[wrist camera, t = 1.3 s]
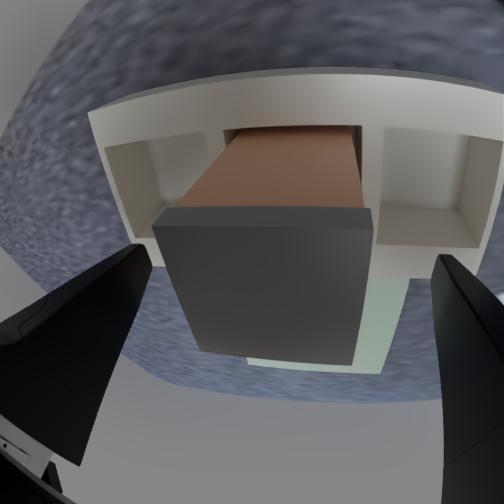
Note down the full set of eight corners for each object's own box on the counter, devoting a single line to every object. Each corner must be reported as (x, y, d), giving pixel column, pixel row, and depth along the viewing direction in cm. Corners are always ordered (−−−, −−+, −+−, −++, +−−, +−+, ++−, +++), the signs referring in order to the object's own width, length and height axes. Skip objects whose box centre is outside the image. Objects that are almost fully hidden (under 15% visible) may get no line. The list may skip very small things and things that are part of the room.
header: (475, 81, 10) (515, 97, 7) (454, 233, 16) (474, 279, 13) (132, 93, 15) (87, 112, 12) (169, 226, 20) (140, 264, 17)
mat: (410, 265, 18) (411, 271, 17) (380, 368, 25) (380, 373, 24) (225, 258, 21) (222, 263, 20) (250, 359, 28) (248, 364, 28)
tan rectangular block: (348, 112, 13) (373, 229, 5) (349, 199, 16) (351, 365, 8) (252, 115, 14) (151, 225, 7) (263, 198, 17) (200, 350, 9)
